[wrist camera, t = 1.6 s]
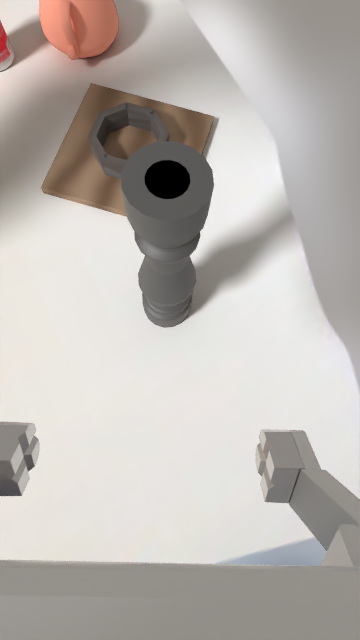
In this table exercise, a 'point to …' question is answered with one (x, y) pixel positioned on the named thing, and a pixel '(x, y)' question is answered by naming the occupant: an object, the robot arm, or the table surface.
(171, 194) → the candle holder
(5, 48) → the pill bottle
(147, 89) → the table surface
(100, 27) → the sugar bowl
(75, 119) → the candle dish
